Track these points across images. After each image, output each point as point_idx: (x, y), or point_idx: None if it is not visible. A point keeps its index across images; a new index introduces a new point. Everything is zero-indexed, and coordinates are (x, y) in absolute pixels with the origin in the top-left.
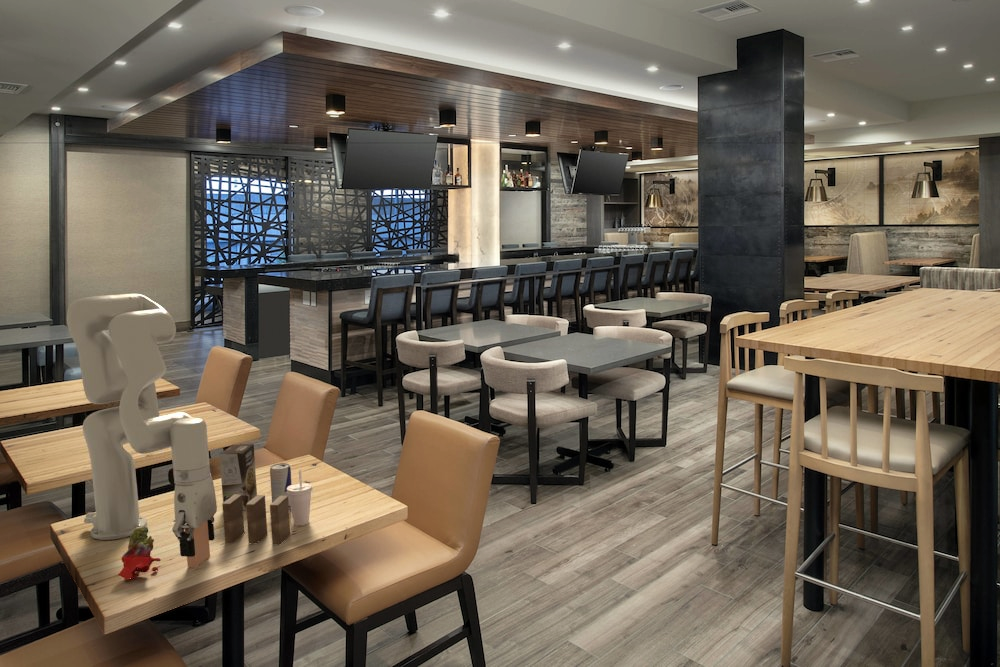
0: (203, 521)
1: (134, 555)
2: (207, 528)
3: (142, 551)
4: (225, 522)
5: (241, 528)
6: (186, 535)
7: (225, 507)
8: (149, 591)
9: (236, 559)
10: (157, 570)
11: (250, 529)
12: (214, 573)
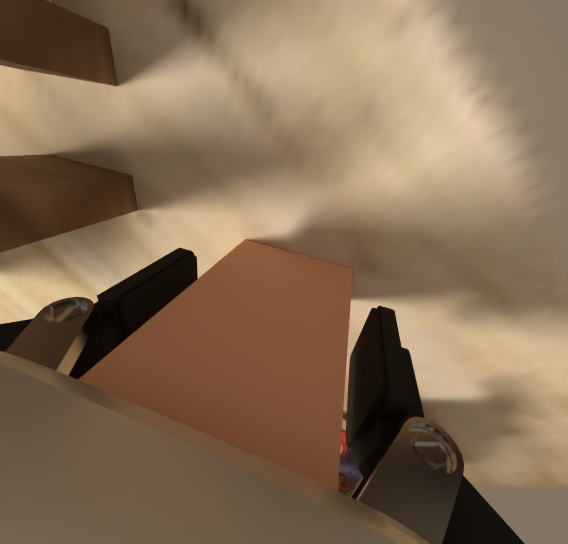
0: (254, 510)
1: None
2: (160, 316)
3: None
4: (33, 229)
5: (31, 161)
6: (456, 512)
7: None
8: (530, 390)
9: (286, 82)
10: None
11: (17, 36)
12: (450, 161)
